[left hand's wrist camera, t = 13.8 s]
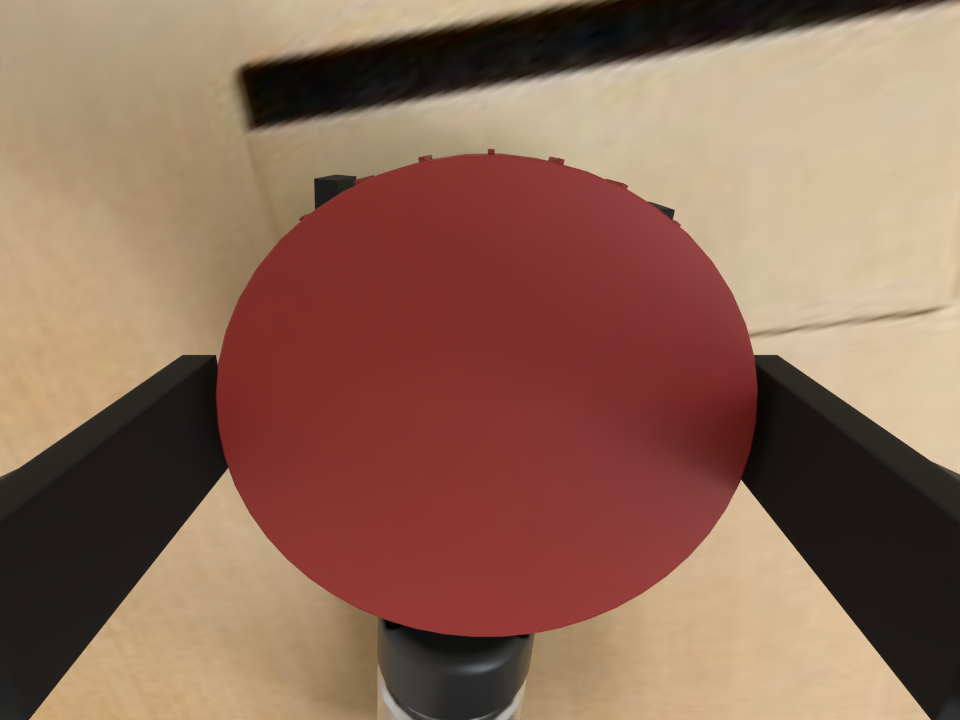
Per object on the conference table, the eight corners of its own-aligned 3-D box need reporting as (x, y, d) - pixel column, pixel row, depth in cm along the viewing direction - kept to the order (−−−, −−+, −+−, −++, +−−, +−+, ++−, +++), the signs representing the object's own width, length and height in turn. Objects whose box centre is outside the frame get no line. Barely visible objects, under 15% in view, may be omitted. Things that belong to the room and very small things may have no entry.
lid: (182, 454, 14) (133, 505, 12) (400, 29, 10) (381, 2, 8) (540, 632, 16) (547, 700, 14) (820, 333, 12) (882, 367, 10)
